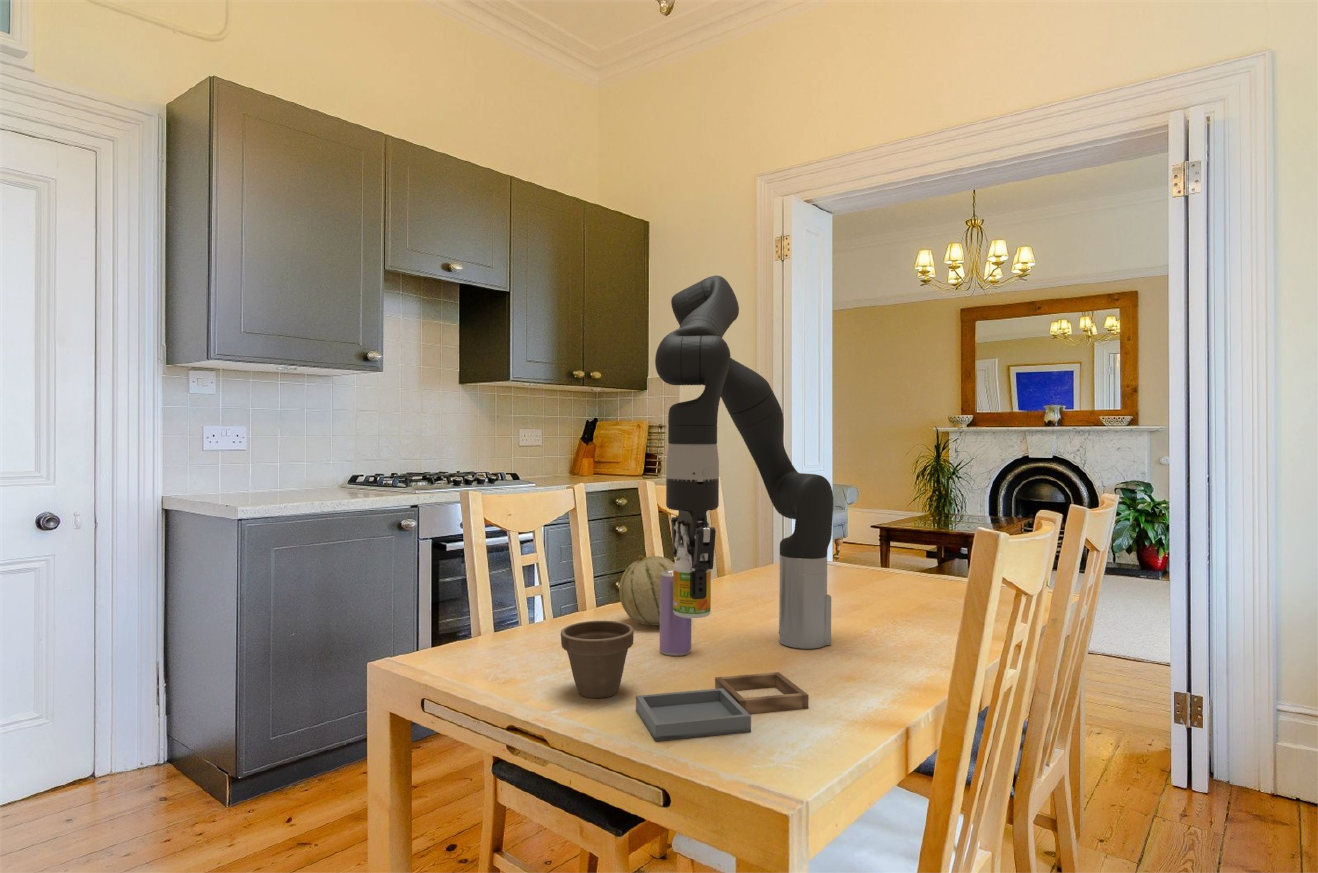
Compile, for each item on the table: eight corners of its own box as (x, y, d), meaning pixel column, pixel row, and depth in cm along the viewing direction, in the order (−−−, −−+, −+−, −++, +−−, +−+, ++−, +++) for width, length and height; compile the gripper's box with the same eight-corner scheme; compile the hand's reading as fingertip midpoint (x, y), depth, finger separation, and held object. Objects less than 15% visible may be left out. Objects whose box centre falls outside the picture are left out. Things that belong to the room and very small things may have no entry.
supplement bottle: (675, 619, 106) (675, 549, 106) (671, 610, 111) (671, 543, 111) (713, 618, 106) (713, 549, 106) (707, 609, 111) (708, 543, 111)
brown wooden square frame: (778, 684, 124) (778, 672, 124) (808, 708, 114) (808, 694, 114) (715, 689, 122) (715, 677, 122) (739, 714, 111) (739, 701, 111)
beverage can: (688, 657, 139) (688, 576, 139) (656, 655, 140) (656, 574, 140) (693, 648, 145) (693, 570, 144) (662, 646, 146) (663, 568, 146)
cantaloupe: (701, 626, 161) (701, 556, 161) (643, 637, 153) (643, 562, 152) (661, 612, 173) (662, 547, 173) (606, 621, 165) (606, 552, 165)
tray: (722, 702, 116) (722, 688, 116) (750, 731, 105) (751, 715, 105) (636, 710, 112) (636, 695, 112) (655, 741, 101) (655, 725, 101)
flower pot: (572, 709, 113) (572, 642, 113) (552, 686, 123) (552, 624, 123) (644, 699, 117) (644, 634, 117) (618, 677, 128) (619, 617, 128)
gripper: (654, 473, 114) (654, 585, 115) (681, 479, 100) (680, 606, 101) (702, 472, 116) (701, 583, 116) (734, 478, 102) (734, 603, 103)
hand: (691, 593), depth 109 cm, fingers closed on supplement bottle, 5 cm apart
